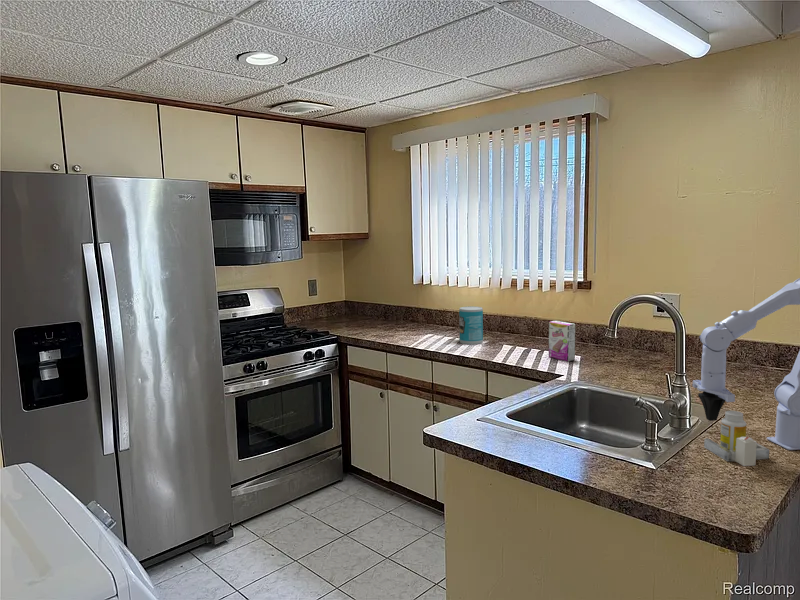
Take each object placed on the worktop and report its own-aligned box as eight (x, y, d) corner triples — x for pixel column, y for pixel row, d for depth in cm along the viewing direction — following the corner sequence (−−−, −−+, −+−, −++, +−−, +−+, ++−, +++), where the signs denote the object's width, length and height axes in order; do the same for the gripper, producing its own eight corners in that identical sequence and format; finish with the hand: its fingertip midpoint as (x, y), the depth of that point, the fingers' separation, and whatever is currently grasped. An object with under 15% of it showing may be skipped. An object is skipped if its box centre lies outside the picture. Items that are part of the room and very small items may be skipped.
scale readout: (746, 460, 136) (747, 435, 135) (755, 465, 133) (756, 439, 132) (735, 461, 136) (736, 436, 135) (743, 466, 133) (745, 440, 132)
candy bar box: (547, 357, 247) (548, 321, 245) (555, 355, 250) (555, 320, 248) (567, 362, 238) (568, 324, 236) (575, 360, 241) (576, 323, 238)
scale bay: (743, 444, 145) (743, 436, 145) (768, 458, 137) (769, 449, 136) (704, 447, 144) (704, 438, 144) (727, 461, 136) (728, 452, 135)
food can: (455, 343, 281) (455, 309, 279) (464, 339, 291) (464, 305, 289) (478, 345, 275) (477, 310, 273) (486, 341, 286) (486, 306, 283)
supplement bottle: (747, 450, 142) (749, 412, 141) (742, 457, 138) (744, 418, 137) (722, 445, 146) (724, 408, 144) (717, 451, 142) (719, 413, 140)
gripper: (683, 365, 155) (681, 412, 156) (717, 379, 140) (715, 430, 142) (706, 364, 155) (704, 410, 157) (743, 377, 141) (741, 428, 143)
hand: (711, 419), depth 150 cm, fingers closed
